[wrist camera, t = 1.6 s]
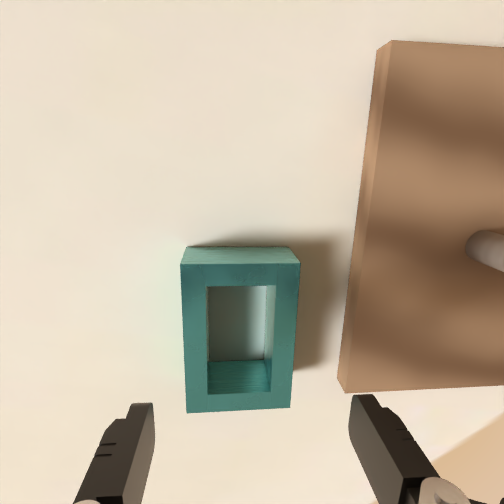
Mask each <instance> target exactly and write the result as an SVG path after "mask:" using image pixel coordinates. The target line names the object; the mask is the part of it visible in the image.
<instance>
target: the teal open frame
mask: <svg viewBox="0 0 504 504" xmlns="http://www.w3.org/2000/svg"><path fill="white" fill-rule="evenodd" d="M300 265H301V263H300V262H299V260H298V259H297V258H296V256H295V255H294V254H293V252H292V251H291V250H290V248H289V247H186V250H185V252H184V255H183V258H182V261H181V263H180V270H181V293H182V317H183V340H184V364H185V387H186V410H187V413H201V412H220V411H238V410H257V409H275V408H290V401H291V388H292V374H293V360H294V347H295V333H296V319H297V306H298V292H299V279H300ZM208 286H267V296H266V320H265V343H264V360H244V361H218V362H209V320H208Z"/></svg>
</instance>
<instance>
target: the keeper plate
mask: <svg viewBox="0 0 504 504" xmlns="http://www.w3.org/2000/svg"><path fill="white" fill-rule="evenodd" d="M337 379H338V381H339V383H340V385H341V386H342V388H343V390H344V392H345V393H361V392H380V391H400V390H420V389H440V388H459V387H479V386H499V385H504V47H489V46H474V45H459V44H443V43H428V42H413V41H398V40H391V41H390V42H388V43H387V44H385V45H384V46H382V47H381V48H379V49H378V50H377V54H376V62H375V70H374V79H373V87H372V95H371V103H370V111H369V120H368V128H367V136H366V144H365V152H364V161H363V169H362V177H361V185H360V193H359V202H358V210H357V218H356V226H355V234H354V243H353V251H352V259H351V267H350V275H349V284H348V292H347V300H346V308H345V316H344V325H343V333H342V341H341V349H340V357H339V366H338V374H337Z"/></svg>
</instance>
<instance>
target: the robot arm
mask: <svg viewBox="0 0 504 504" xmlns="http://www.w3.org/2000/svg"><path fill="white" fill-rule="evenodd" d="M348 428H349V436H350V440H351V443H352V445H353V447H354V449H355V452H356V454H357V456H358V458H359V460H360V463H361V465H362V467H363V469H364V471H365V474H366V476H367V478H368V480H369V483H370V485H371V487H372V489H373V491H374V494H375V496H376V498H377V500H378V502H379V504H486V503H482V502H478V501H474V500H471V499H468V498H467V497H466V495H465V494H464V493H463V492H462V491H461V490H460V489H459V488H458V487H457V486H455V485H454V484H452V483H451V482H449V481H447V480H445V479H442V478H440V476H439V475H438V473H437V472H436V470H435V469H434V467H433V466H432V465H431V463H430V462H429V460H428V459H427V457H426V456H425V454H424V453H423V451H422V450H421V448H420V447H419V445H418V444H417V442H416V441H414V438H413V437H412V435H411V434H410V432H409V431H407V428H406V426H405V425H404V423H403V422H402V420H401V419H400V418H399V417H398V416H397V415H396V414H395V413H394V412H392V411H391V410H390V409H389V408H388V407H386V408H382V407H381V406H380V404H379V403H378V401H377V399H376V398H375V396H374V395H372V394H363V395H353V397H352V402H351V410H350V417H349V425H348ZM154 445H155V427H154V414H153V404H152V403H133V404H131V406H130V409H129V411H128V414H127V416H126V419H115V421H114V422H113V423H112V424H111V425H110V426H109V427H108V428H107V429H106V430H105V432H104V434H103V437H102V439H101V441H100V444H99V446H98V448H97V450H96V453H95V456H94V458H93V460H92V462H91V464H90V466H89V469H88V471H87V473H86V475H85V478H84V480H83V482H82V485H81V487H80V489H79V491H78V494H77V496H76V498H75V500H74V502H73V504H141V502H142V498H143V493H144V489H145V485H146V481H147V477H148V473H149V469H150V464H151V460H152V456H153V452H154ZM500 504H504V498H502V500H501V501H500Z"/></svg>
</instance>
